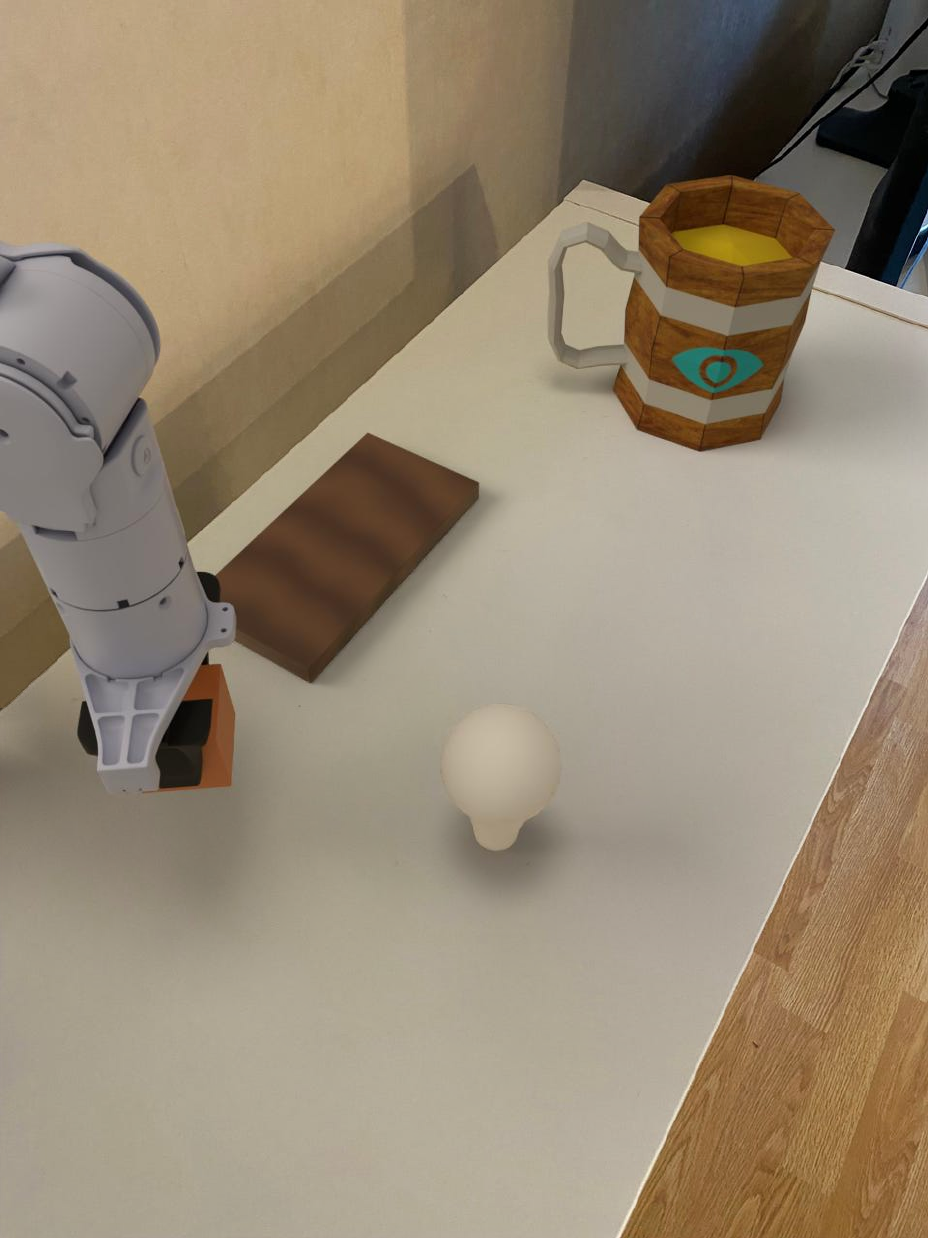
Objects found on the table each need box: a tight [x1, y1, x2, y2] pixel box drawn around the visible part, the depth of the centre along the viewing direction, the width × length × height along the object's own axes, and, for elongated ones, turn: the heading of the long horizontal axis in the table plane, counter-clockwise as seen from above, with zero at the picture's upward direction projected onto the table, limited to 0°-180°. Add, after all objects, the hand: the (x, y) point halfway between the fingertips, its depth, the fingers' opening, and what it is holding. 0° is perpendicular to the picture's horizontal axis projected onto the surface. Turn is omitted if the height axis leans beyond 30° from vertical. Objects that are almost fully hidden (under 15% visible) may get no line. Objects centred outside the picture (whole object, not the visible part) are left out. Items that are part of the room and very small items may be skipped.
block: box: [140, 663, 236, 794], centre depth 51 cm, size 4×4×4 cm
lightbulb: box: [440, 703, 563, 852], centre depth 53 cm, size 6×6×11 cm
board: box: [214, 432, 480, 684], centre depth 70 cm, size 20×10×2 cm, turn 147°
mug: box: [547, 174, 836, 452], centre depth 77 cm, size 20×14×15 cm
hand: (183, 738), depth 52 cm, fingers closed on block, 4 cm apart
